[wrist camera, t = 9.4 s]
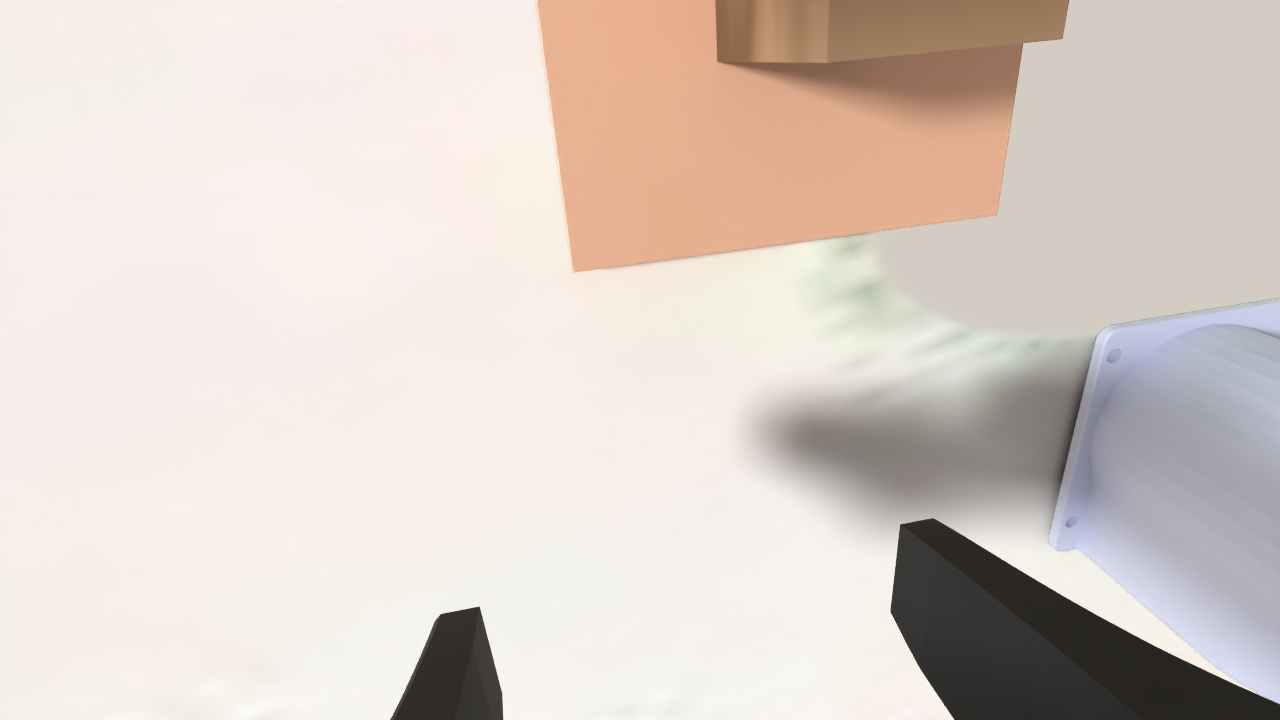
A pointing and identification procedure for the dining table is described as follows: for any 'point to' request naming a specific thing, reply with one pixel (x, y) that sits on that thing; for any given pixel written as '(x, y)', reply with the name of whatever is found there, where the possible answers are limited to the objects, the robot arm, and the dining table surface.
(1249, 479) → the robot arm
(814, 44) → the walnut block
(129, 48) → the dining table surface
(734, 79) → the terracotta tile
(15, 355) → the dining table surface
